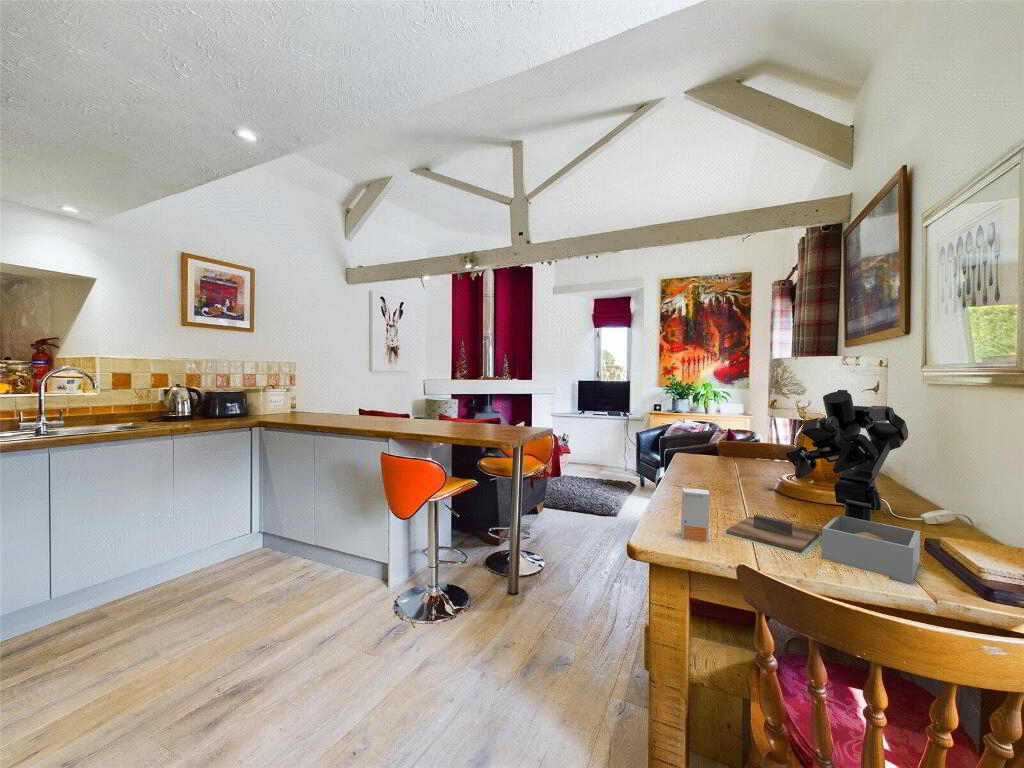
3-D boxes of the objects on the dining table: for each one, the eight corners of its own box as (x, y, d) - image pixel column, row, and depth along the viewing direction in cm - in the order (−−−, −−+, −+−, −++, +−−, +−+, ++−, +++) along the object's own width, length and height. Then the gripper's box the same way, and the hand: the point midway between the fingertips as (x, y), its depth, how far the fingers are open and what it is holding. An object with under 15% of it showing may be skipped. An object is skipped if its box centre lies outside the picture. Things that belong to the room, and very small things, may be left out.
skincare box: (681, 540, 104) (682, 491, 104) (680, 534, 108) (681, 487, 108) (708, 544, 102) (709, 494, 102) (707, 538, 106) (708, 489, 106)
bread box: (836, 543, 104) (837, 514, 104) (919, 563, 93) (920, 531, 93) (821, 560, 94) (822, 528, 94) (912, 584, 84) (913, 548, 83)
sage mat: (746, 520, 121) (746, 518, 121) (824, 538, 107) (824, 536, 107) (720, 535, 108) (720, 533, 108) (804, 558, 95) (804, 555, 95)
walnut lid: (749, 520, 119) (749, 505, 119) (818, 536, 107) (819, 520, 107) (726, 533, 108) (726, 517, 108) (800, 553, 97) (801, 535, 96)
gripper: (786, 420, 117) (759, 454, 110) (858, 400, 100) (832, 438, 93) (812, 454, 116) (787, 490, 109) (889, 439, 100) (865, 480, 92)
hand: (815, 474), depth 101 cm, fingers open, 9 cm apart
